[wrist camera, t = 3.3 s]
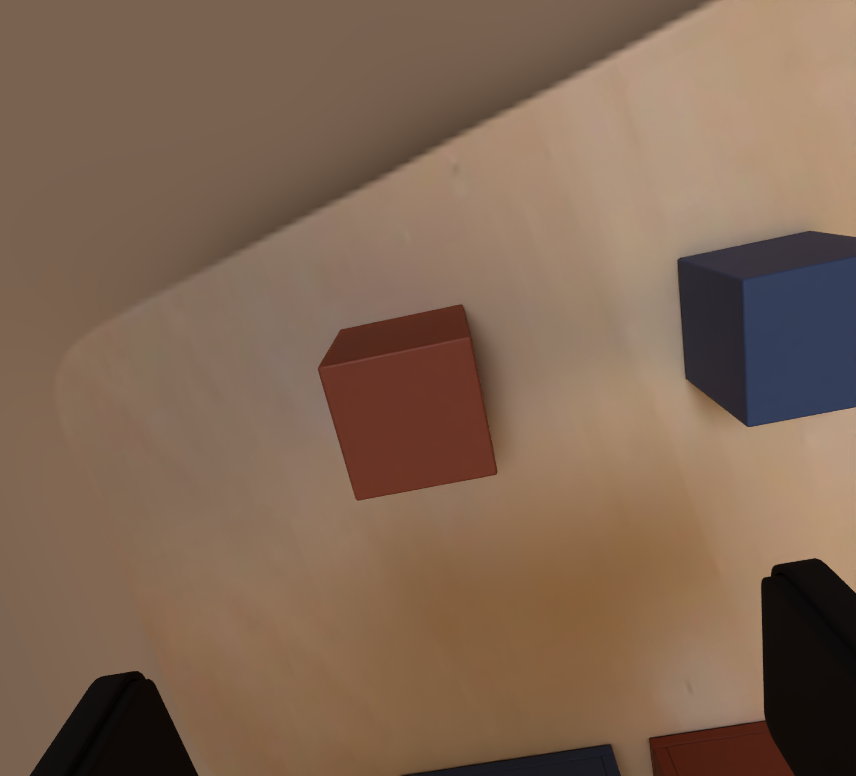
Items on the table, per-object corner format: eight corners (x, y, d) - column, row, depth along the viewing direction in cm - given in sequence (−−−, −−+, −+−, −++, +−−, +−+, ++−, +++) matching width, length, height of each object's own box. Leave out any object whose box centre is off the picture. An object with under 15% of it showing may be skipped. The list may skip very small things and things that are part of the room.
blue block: (685, 379, 22) (747, 428, 17) (677, 258, 20) (742, 279, 16) (810, 355, 21) (904, 399, 17) (811, 230, 20) (914, 243, 16)
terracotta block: (369, 441, 23) (355, 502, 18) (339, 329, 21) (316, 367, 17) (485, 418, 22) (498, 475, 18) (462, 303, 21) (470, 335, 16)
